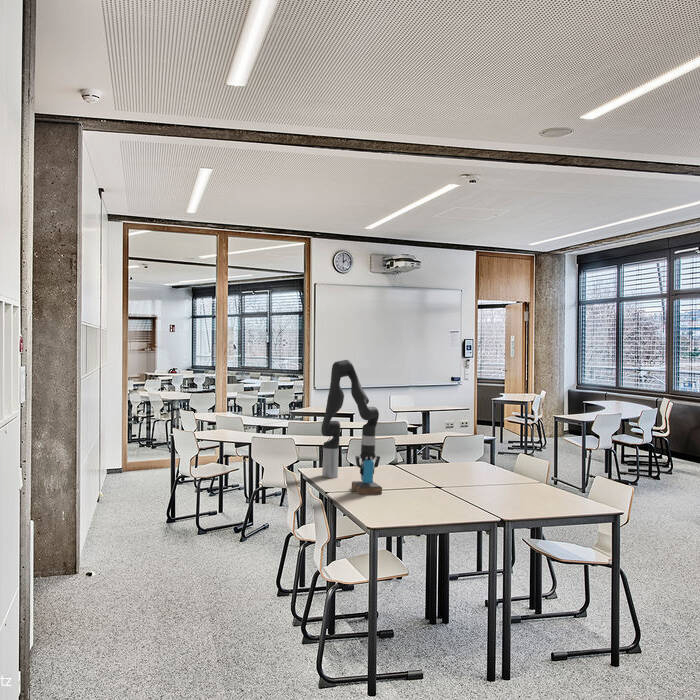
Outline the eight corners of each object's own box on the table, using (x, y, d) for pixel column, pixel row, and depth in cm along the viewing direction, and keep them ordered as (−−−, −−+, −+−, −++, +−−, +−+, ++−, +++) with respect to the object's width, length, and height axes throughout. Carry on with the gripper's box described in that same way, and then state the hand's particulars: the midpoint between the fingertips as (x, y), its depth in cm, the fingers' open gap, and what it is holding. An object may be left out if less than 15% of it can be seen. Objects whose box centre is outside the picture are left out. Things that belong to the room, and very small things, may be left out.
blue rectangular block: (360, 479, 351) (361, 457, 351) (368, 479, 352) (369, 457, 352) (364, 483, 339) (365, 461, 339) (372, 483, 340) (373, 461, 340)
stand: (351, 488, 351) (351, 481, 351) (372, 487, 354) (372, 480, 354) (360, 494, 336) (360, 487, 336) (381, 494, 340) (382, 486, 340)
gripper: (358, 445, 339) (356, 476, 340) (383, 444, 344) (381, 476, 344) (353, 442, 347) (352, 474, 347) (378, 442, 351) (376, 473, 351)
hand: (366, 474), depth 345 cm, fingers closed on blue rectangular block, 5 cm apart
